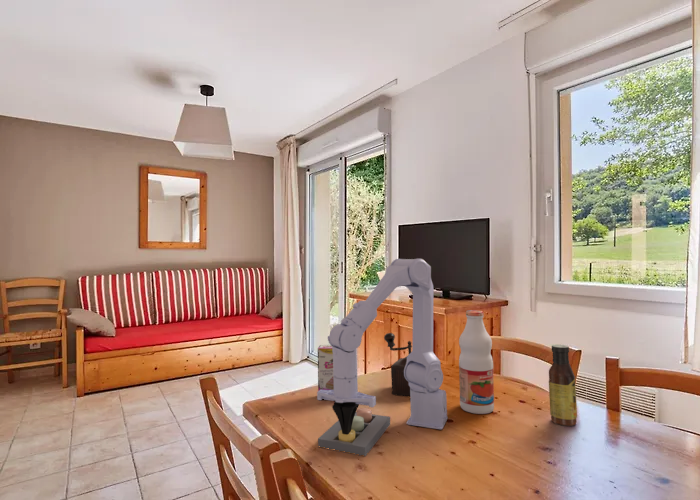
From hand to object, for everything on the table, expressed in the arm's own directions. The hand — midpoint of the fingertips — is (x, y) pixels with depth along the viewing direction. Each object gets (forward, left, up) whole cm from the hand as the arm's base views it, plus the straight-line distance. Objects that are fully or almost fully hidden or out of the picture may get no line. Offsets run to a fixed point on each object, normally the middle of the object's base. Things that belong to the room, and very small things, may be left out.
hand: (346, 432), depth 95 cm
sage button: (0, -6, -1) cm, 6 cm away
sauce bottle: (-48, -32, -3) cm, 58 cm away
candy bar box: (+16, -28, -3) cm, 32 cm away
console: (0, -6, -3) cm, 6 cm away
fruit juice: (-26, -34, -3) cm, 43 cm away
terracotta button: (0, -11, -1) cm, 11 cm away
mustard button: (0, 0, -2) cm, 2 cm away
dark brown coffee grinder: (-2, -42, -3) cm, 42 cm away
